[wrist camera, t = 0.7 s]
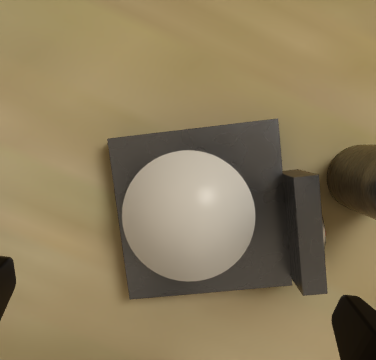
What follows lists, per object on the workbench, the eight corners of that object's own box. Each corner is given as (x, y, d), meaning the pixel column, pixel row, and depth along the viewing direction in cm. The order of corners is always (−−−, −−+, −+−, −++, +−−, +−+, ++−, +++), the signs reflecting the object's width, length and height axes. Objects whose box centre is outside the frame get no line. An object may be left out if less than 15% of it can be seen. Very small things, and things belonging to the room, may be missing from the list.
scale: (310, 273, 23) (332, 301, 19) (134, 289, 23) (120, 319, 19) (297, 117, 22) (319, 111, 18) (113, 139, 22) (94, 137, 18)
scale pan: (259, 270, 21) (261, 275, 20) (133, 281, 22) (131, 287, 21) (246, 143, 20) (248, 142, 19) (116, 157, 21) (113, 158, 20)
